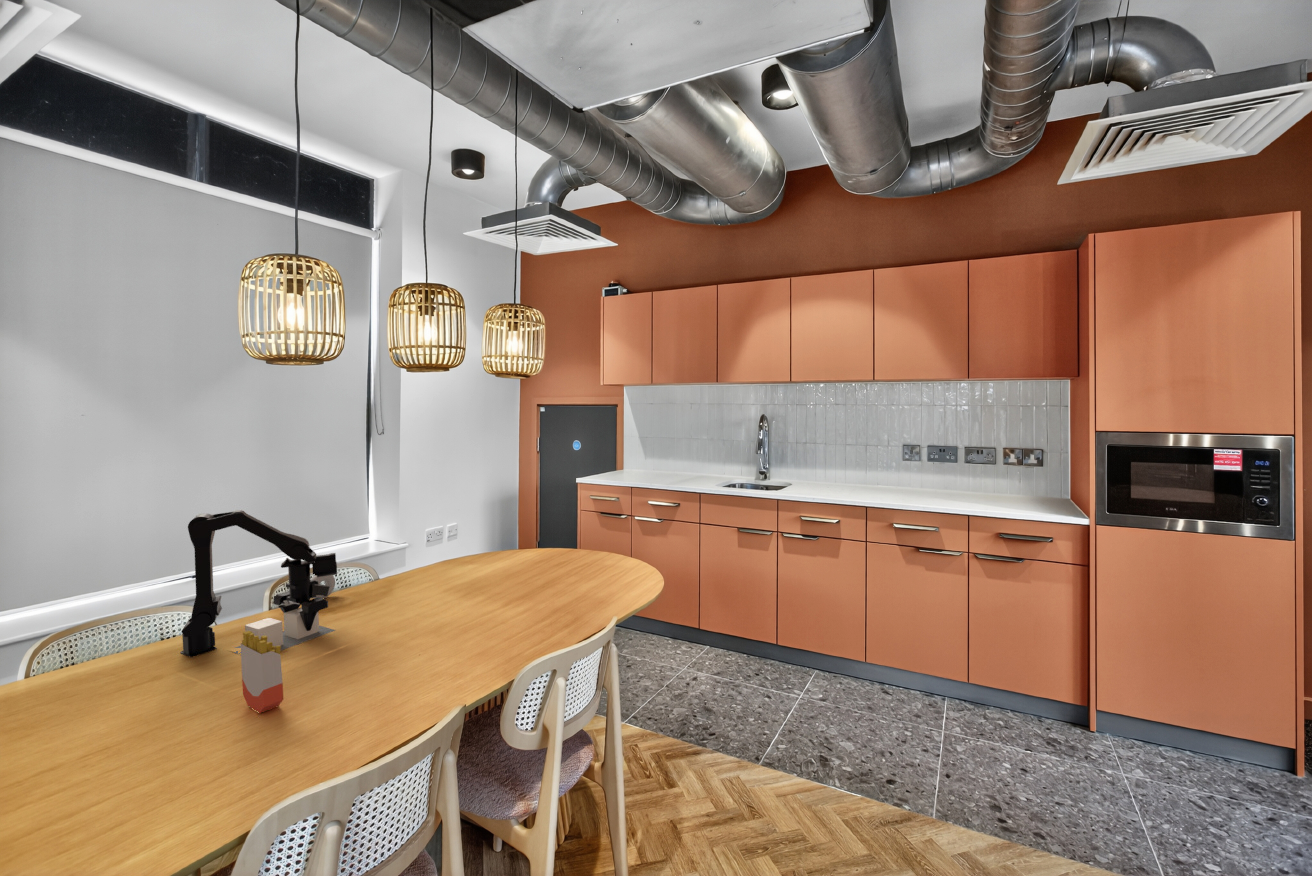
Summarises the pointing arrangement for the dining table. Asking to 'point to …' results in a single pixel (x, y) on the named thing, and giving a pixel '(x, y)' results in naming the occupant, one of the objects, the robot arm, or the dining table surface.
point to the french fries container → (261, 672)
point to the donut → (328, 582)
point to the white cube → (267, 630)
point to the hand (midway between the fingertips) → (301, 628)
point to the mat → (292, 641)
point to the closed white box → (298, 624)
